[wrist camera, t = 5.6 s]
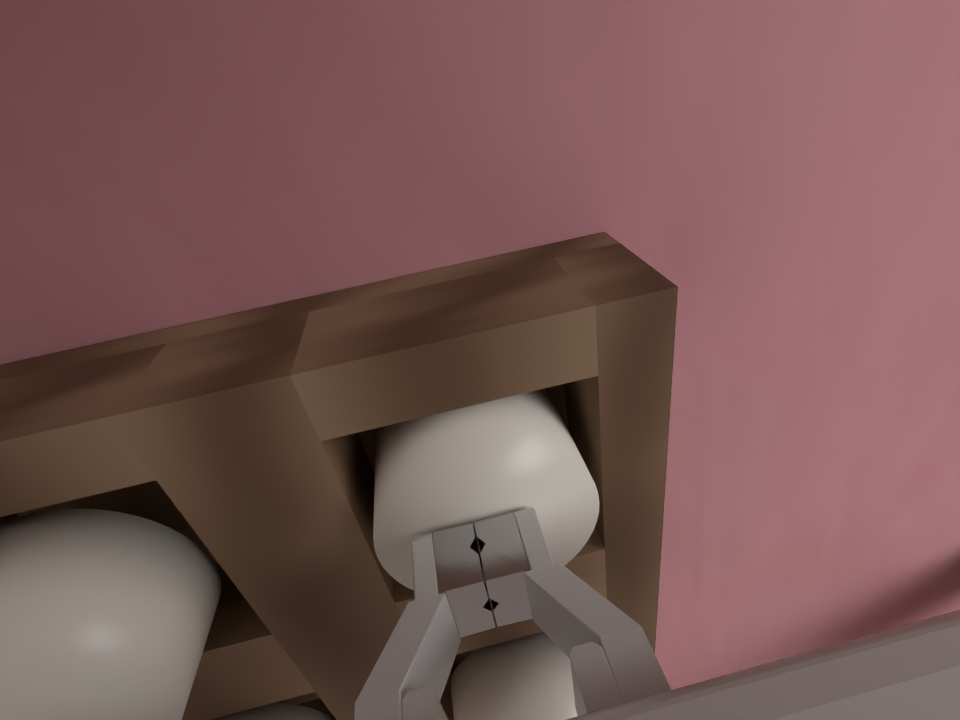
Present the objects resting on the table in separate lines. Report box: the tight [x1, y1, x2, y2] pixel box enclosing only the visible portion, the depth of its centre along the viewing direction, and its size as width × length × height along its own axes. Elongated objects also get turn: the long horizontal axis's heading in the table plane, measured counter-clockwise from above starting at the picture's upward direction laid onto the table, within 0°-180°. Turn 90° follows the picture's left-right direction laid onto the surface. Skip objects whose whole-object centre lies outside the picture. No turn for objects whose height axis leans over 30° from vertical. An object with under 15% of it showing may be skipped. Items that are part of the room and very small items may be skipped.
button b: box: [0, 508, 222, 720], centre depth 11 cm, size 6×6×3 cm
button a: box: [373, 388, 599, 597], centre depth 13 cm, size 6×6×3 cm
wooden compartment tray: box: [0, 232, 678, 720], centre depth 17 cm, size 20×20×4 cm
